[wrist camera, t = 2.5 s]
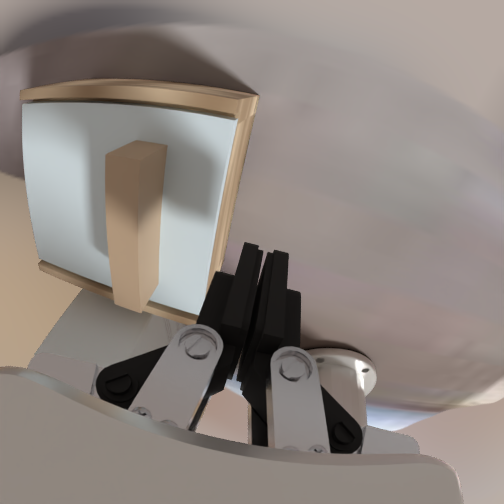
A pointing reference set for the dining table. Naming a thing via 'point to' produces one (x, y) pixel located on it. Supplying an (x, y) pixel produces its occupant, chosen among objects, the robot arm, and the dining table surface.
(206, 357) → the robot arm
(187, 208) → the lid
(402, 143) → the dining table surface
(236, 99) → the box
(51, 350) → the supplement box
